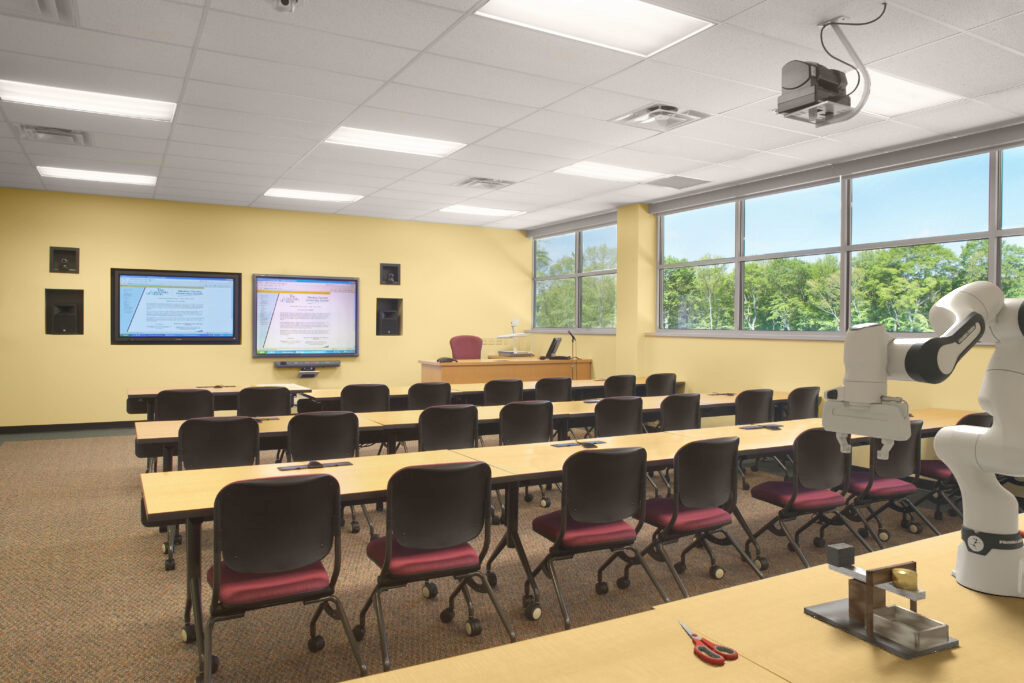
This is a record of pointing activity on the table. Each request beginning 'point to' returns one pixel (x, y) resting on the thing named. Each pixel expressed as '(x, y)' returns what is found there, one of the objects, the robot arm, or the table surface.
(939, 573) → the table surface
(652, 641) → the table surface
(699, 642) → the scissors
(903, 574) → the brass spacer
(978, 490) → the robot arm
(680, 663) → the table surface
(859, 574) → the steel shaft
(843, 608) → the shaft stand
